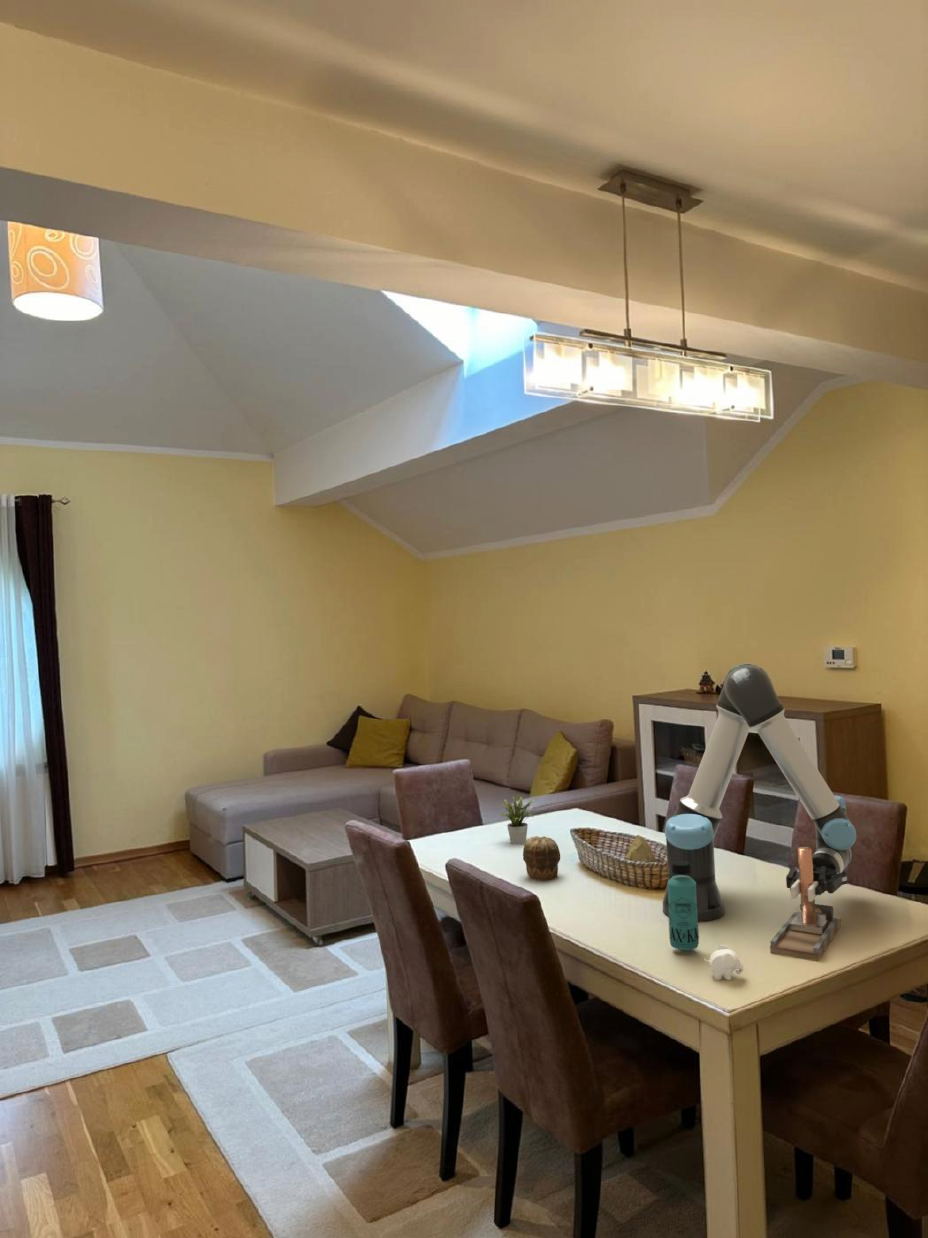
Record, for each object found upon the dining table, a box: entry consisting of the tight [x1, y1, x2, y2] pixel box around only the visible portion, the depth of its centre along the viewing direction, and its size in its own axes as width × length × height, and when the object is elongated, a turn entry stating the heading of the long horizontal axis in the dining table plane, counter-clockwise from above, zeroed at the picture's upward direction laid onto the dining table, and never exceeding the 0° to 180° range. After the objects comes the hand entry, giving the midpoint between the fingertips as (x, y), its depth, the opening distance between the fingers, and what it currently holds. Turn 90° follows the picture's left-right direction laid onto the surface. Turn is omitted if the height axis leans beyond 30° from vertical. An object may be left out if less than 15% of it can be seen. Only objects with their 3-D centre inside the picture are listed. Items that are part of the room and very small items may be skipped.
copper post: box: [790, 846, 828, 934], centre depth 198 cm, size 6×7×18 cm
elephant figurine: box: [704, 944, 744, 981], centre depth 177 cm, size 7×8×6 cm
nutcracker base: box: [769, 903, 842, 962], centre depth 196 cm, size 24×10×5 cm, turn 145°
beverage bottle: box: [667, 861, 700, 951], centre depth 192 cm, size 6×7×20 cm
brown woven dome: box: [522, 835, 561, 882], centre depth 253 cm, size 11×11×12 cm
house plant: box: [499, 795, 537, 845], centre depth 294 cm, size 14×14×16 cm
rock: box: [625, 834, 657, 863], centre depth 255 cm, size 11×9×10 cm
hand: (801, 894), depth 193 cm, fingers closed on copper post, 3 cm apart
